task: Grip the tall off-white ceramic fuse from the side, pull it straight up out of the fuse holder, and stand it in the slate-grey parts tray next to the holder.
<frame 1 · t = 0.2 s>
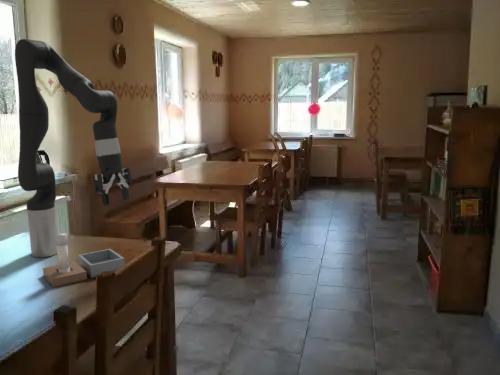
hand: (116, 202, 151), 22 cm above the table, tool pointing down, fingers open, 8 cm apart
fuse holder: (65, 277, 145), on the table
fuse: (63, 256, 144), in the fuse holder
parts tray: (101, 268, 153), on the table
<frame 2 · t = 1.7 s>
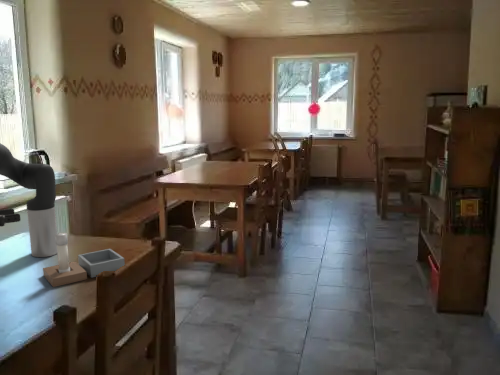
hand: (16, 214, 135), 22 cm above the table, tool horizontal, fingers open, 8 cm apart
nothing on the table moved.
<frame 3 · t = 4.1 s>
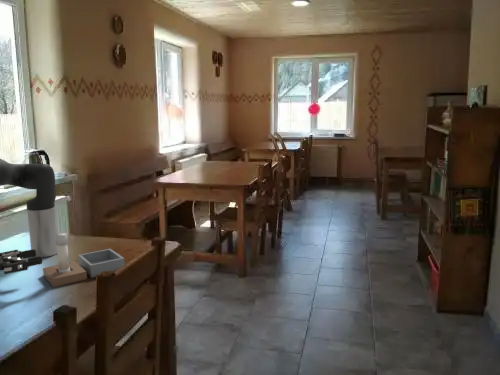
hand: (38, 256, 140), 8 cm above the table, tool horizontal, fingers open, 8 cm apart
nothing on the table moved.
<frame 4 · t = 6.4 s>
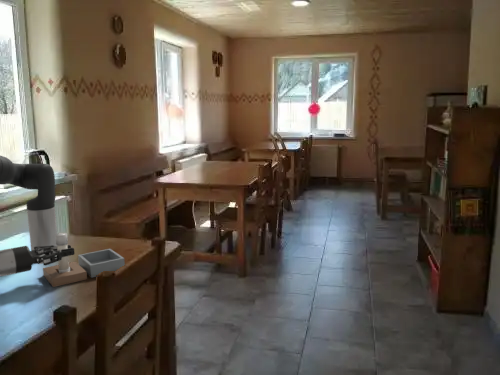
hand: (72, 249, 146), 8 cm above the table, tool horizontal, fingers closed on fuse, 3 cm apart
fuse: (63, 256, 144), in the fuse holder, touching gripper
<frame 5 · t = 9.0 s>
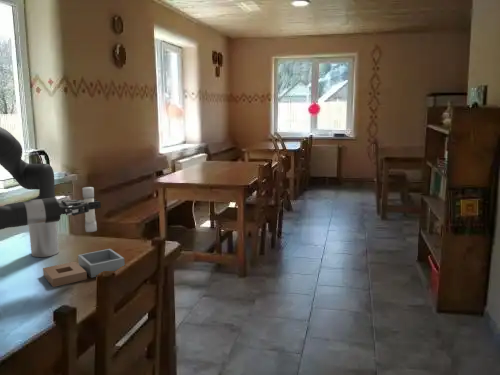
hand: (98, 203, 149), 22 cm above the table, tool horizontal, fingers closed on fuse, 3 cm apart
fuse: (89, 209, 148), point 20 cm above the table, touching gripper
when the fingers open (11 cm above the table, at t = 11.6 s): fuse drops 1 cm, resting on parts tray.
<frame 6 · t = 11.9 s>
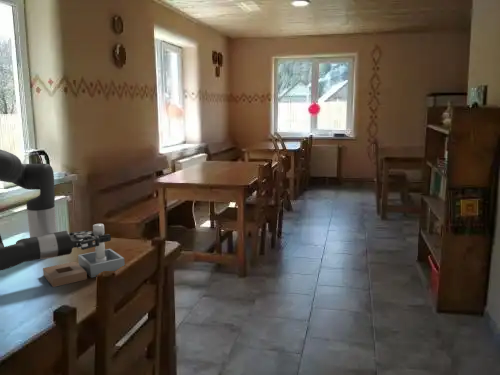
hand: (106, 235, 153), 11 cm above the table, tool horizontal, fingers open, 5 cm apart
fuse: (99, 245, 152), in the parts tray, point 8 cm above the table
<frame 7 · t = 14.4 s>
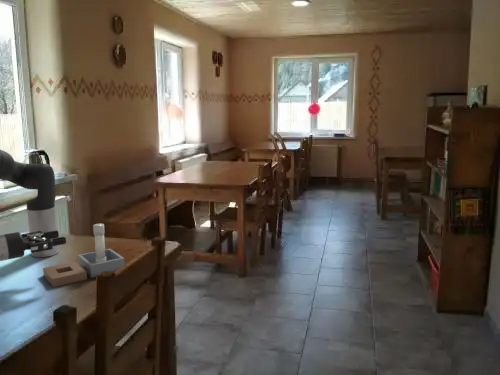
hand: (61, 236, 145), 13 cm above the table, tool horizontal, fingers open, 8 cm apart
nothing on the table moved.
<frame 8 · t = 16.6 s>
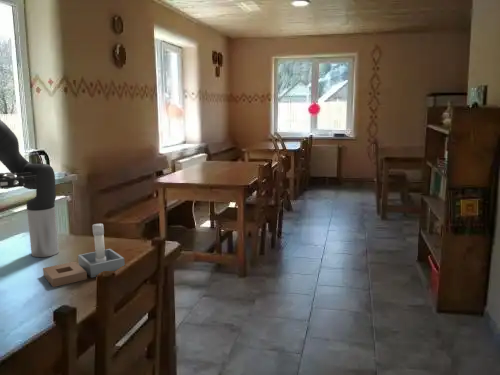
hand: (34, 177, 140), 32 cm above the table, tool horizontal, fingers open, 8 cm apart
nothing on the table moved.
at the end: fuse inside the target area on the parts tray (0.1 cm from its centre), point 7.8 cm above the parts tray's base; fuse tilted 1°; the gripper is holding nothing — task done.
